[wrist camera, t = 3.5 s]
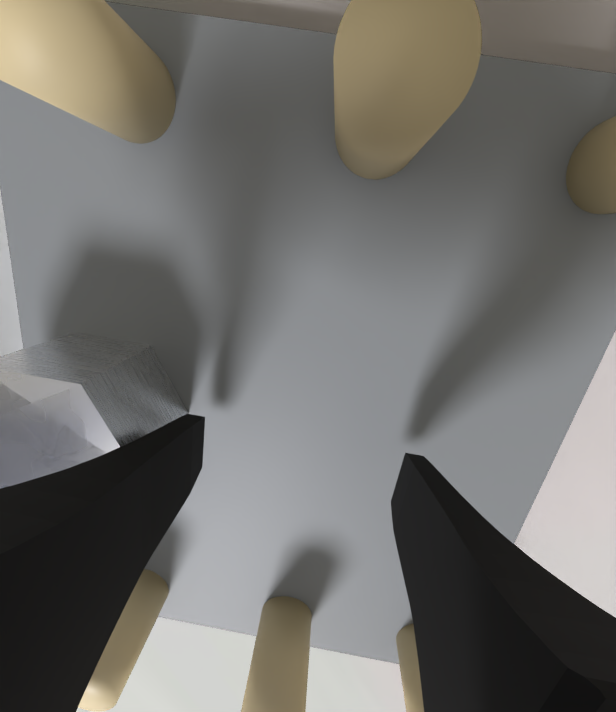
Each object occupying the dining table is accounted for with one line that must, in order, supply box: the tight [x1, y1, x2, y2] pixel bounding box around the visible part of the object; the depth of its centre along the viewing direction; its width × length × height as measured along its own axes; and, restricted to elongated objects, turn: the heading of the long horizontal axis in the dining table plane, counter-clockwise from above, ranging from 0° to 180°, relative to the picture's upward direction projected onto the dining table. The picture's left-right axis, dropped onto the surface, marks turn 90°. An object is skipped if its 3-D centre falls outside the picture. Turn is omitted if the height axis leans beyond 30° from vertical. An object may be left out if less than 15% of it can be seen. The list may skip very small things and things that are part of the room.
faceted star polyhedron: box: [0, 332, 188, 488], centre depth 11 cm, size 6×5×4 cm
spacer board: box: [0, 0, 616, 712], centre depth 11 cm, size 20×24×5 cm
